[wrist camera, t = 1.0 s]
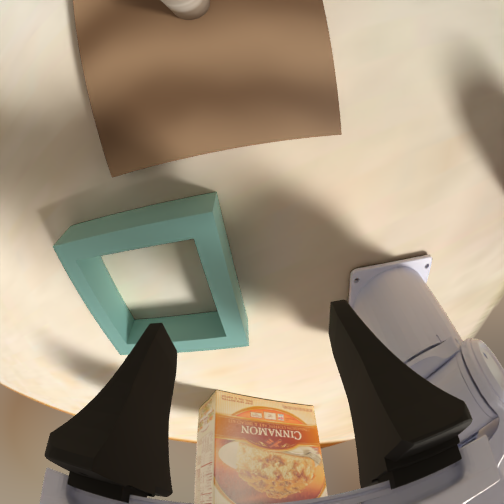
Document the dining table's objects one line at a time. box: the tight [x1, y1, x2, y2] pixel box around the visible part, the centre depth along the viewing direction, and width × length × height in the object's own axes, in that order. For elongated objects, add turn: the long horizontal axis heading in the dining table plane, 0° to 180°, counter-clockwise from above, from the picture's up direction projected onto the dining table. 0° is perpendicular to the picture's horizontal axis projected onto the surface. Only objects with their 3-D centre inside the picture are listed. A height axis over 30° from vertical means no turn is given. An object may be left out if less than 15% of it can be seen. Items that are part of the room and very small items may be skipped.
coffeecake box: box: [194, 390, 328, 504], centre depth 27 cm, size 15×7×20 cm, turn 63°
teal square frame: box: [53, 192, 249, 355], centre depth 21 cm, size 12×12×3 cm
